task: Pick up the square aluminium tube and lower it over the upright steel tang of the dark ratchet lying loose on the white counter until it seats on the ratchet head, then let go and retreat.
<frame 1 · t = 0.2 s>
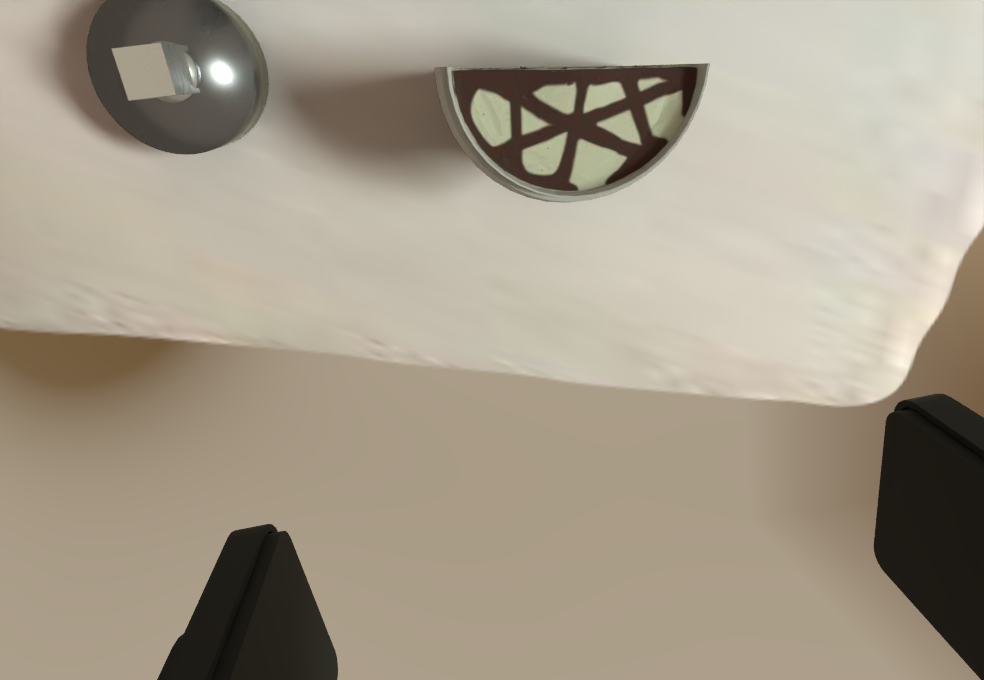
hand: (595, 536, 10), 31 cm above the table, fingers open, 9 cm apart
ratchet: (193, 72, 34), on the table
food container: (541, 123, 37), on the table
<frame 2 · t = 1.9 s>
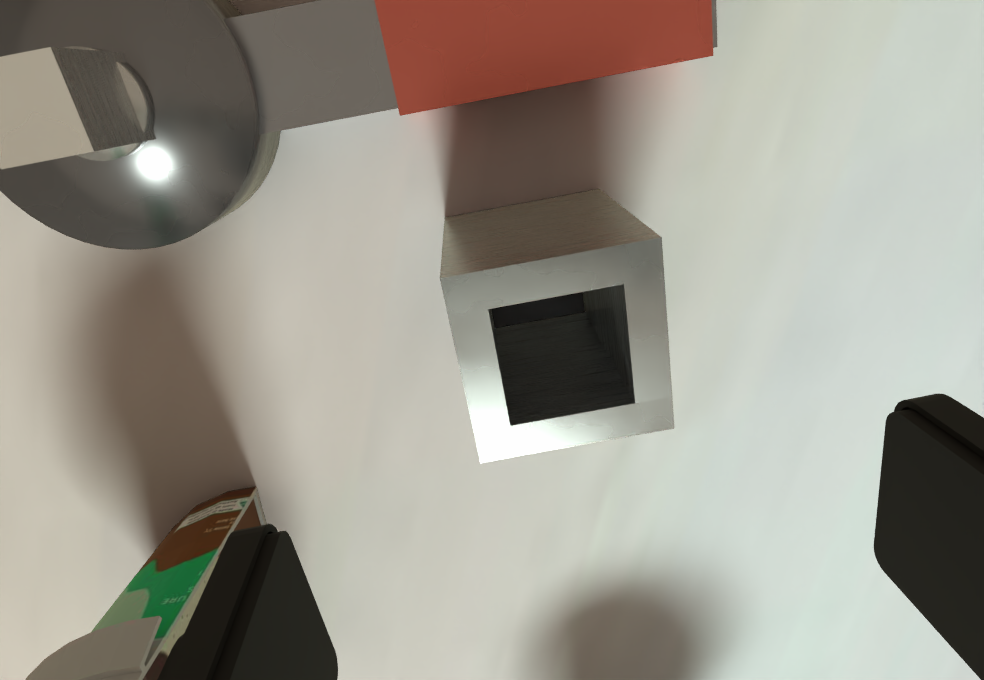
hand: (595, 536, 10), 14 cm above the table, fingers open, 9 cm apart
ratchet: (151, 101, 19), on the table
food container: (211, 577, 27), on the table
square aluminium tube: (533, 277, 22), on the table
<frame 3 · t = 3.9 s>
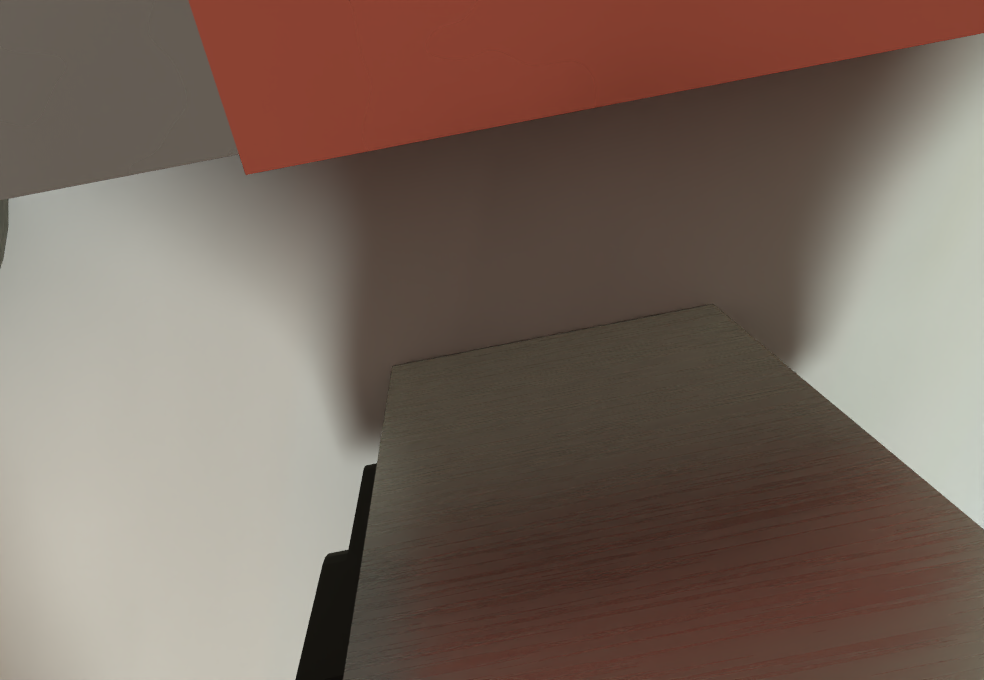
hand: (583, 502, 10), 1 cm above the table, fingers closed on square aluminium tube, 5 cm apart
square aluminium tube: (572, 468, 11), on the table, touching gripper
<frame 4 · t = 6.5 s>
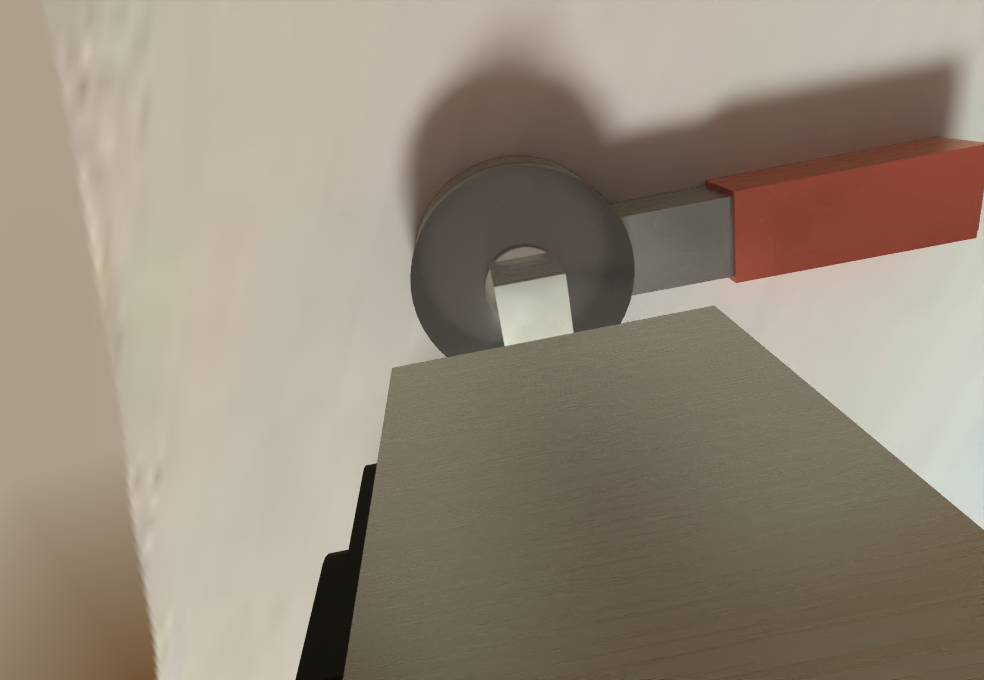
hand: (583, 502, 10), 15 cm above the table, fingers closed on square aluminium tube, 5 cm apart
ratchet: (515, 259, 25), on the table
square aluminium tube: (573, 470, 11), point 15 cm above the table, touching gripper
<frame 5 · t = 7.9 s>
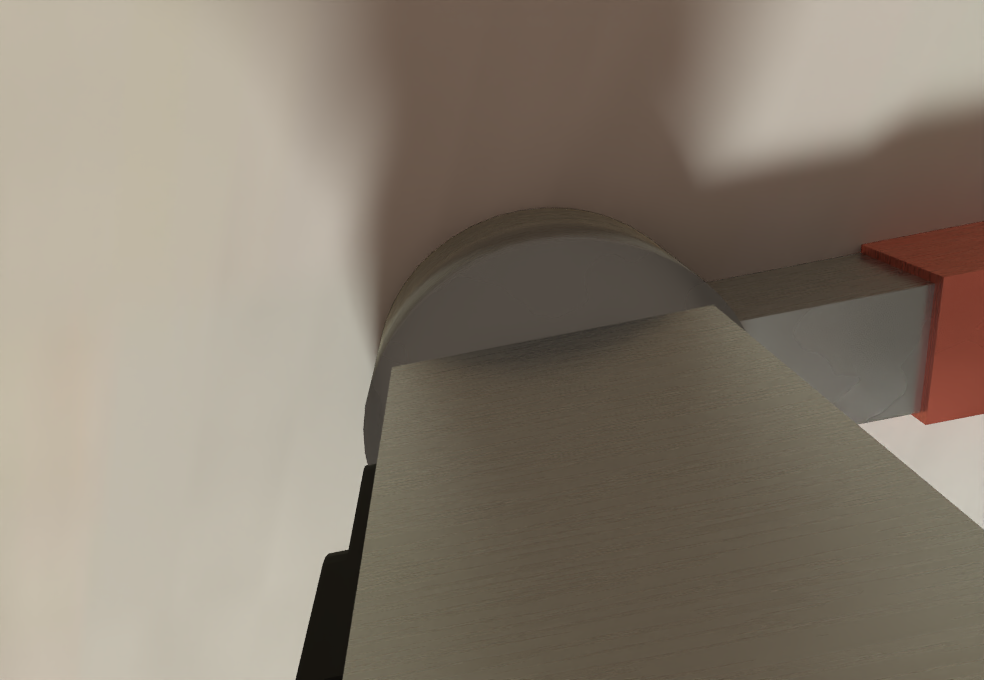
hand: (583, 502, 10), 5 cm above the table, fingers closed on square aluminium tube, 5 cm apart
ratchet: (543, 371, 15), on the table
square aluminium tube: (572, 469, 11), point 4 cm above the table, touching gripper
when the fingers open (4 cm above the table, at t = 9.1 s): square aluminium tube stays where it is, resting on ratchet.
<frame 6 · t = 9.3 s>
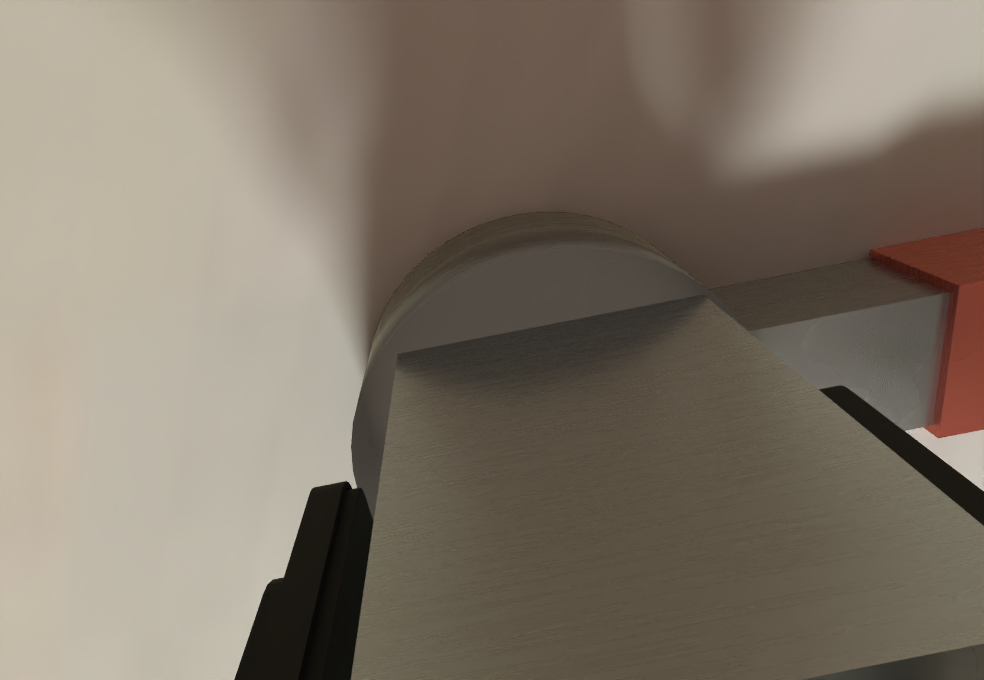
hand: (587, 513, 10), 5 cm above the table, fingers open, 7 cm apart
ratchet: (540, 381, 15), on the table, touching square aluminium tube
square aluminium tube: (569, 452, 12), point 3 cm above the table, touching ratchet
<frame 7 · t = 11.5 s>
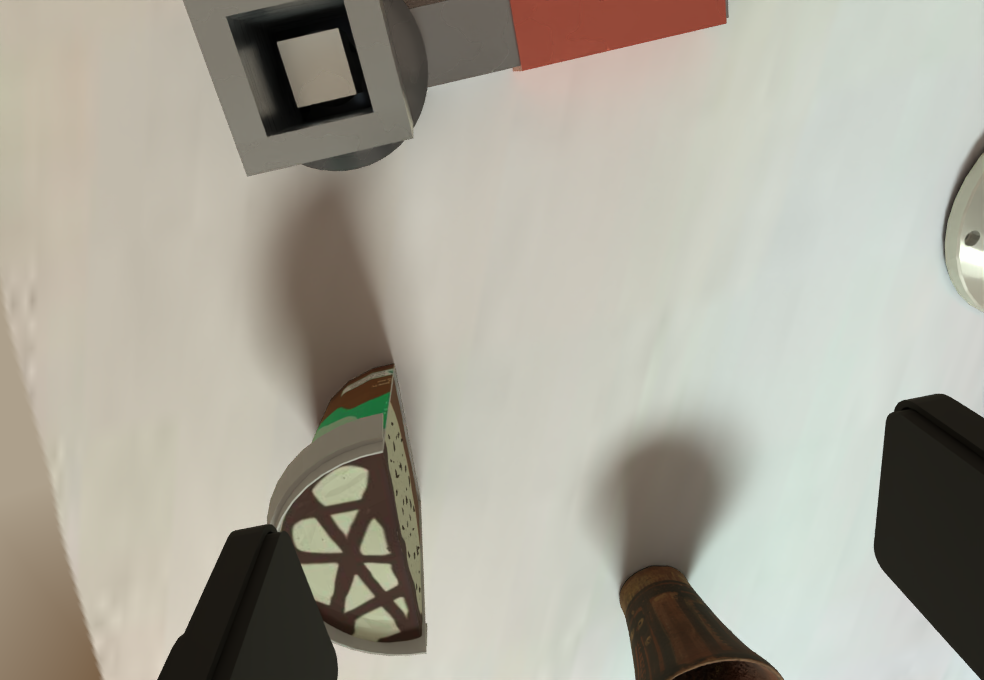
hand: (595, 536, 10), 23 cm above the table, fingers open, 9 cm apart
ratchet: (337, 69, 28), on the table, touching square aluminium tube
cup: (653, 588, 43), on the table
food container: (355, 442, 35), on the table
square aluminium tube: (331, 68, 25), point 3 cm above the table, touching ratchet
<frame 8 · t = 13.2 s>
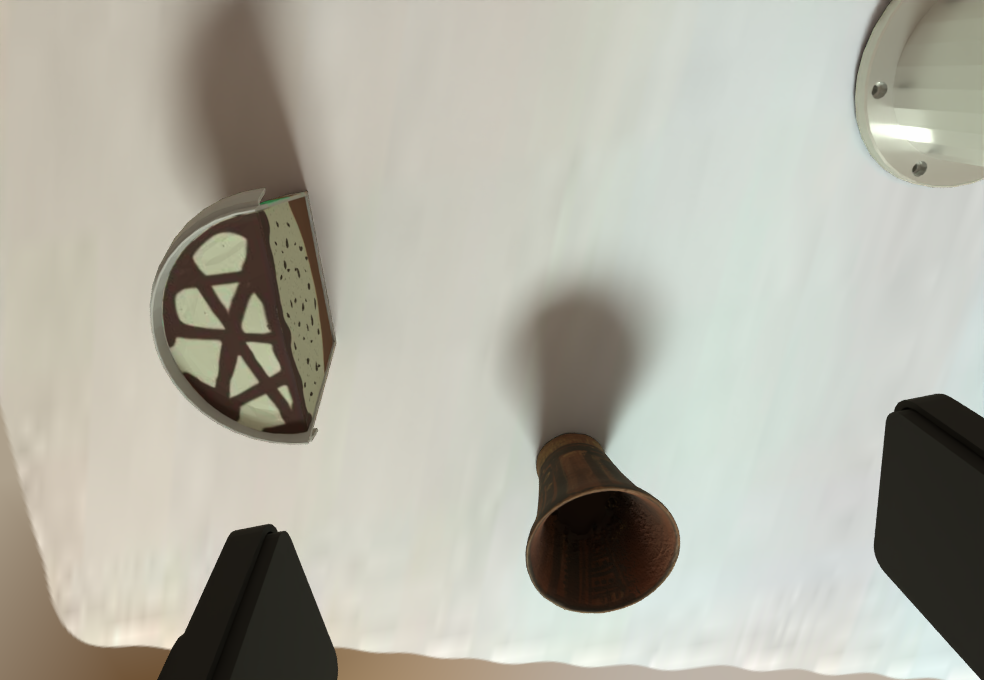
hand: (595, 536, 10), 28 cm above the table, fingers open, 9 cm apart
cup: (570, 459, 43), on the table
food container: (270, 274, 37), on the table
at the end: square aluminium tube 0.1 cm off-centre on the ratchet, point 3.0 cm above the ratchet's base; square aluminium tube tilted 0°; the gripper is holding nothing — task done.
